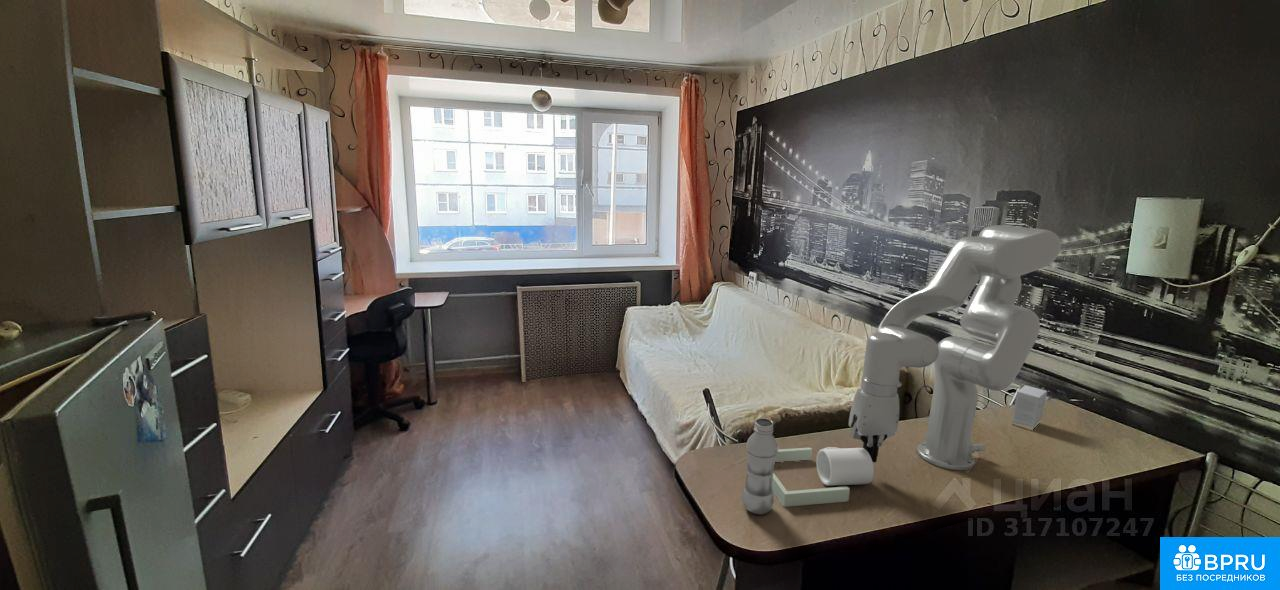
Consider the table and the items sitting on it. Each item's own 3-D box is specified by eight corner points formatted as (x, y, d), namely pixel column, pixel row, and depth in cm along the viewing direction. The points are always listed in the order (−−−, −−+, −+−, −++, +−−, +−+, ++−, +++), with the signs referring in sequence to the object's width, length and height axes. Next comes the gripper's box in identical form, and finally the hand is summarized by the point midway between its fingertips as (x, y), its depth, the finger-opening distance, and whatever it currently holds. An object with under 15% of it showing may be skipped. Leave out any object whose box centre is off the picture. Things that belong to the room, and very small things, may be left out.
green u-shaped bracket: (809, 458, 132) (810, 447, 131) (848, 501, 114) (849, 489, 114) (752, 462, 129) (753, 451, 129) (783, 506, 112) (784, 494, 111)
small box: (1018, 417, 158) (1024, 384, 156) (1040, 423, 154) (1047, 390, 152) (1010, 424, 153) (1016, 391, 151) (1033, 431, 149) (1040, 397, 146)
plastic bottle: (778, 508, 111) (786, 421, 107) (762, 523, 106) (770, 433, 102) (751, 495, 116) (758, 412, 111) (735, 509, 111) (741, 422, 106)
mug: (871, 491, 118) (876, 459, 117) (829, 492, 117) (833, 460, 116) (846, 462, 130) (849, 433, 128) (807, 464, 129) (810, 434, 127)
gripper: (898, 379, 125) (887, 449, 129) (840, 382, 122) (831, 453, 126) (919, 392, 117) (908, 466, 121) (858, 395, 115) (848, 470, 119)
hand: (869, 459), depth 124 cm, fingers closed
